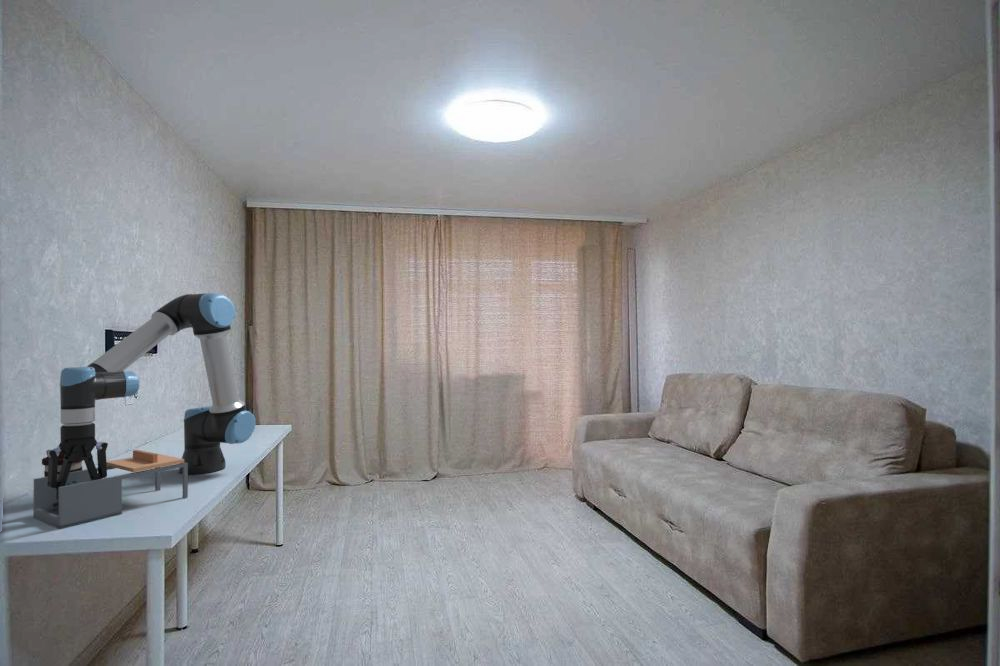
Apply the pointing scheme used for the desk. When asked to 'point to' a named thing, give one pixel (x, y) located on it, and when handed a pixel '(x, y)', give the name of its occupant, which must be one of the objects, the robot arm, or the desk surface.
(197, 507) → the desk surface
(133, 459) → the lid
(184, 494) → the housing
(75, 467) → the coffee cup
